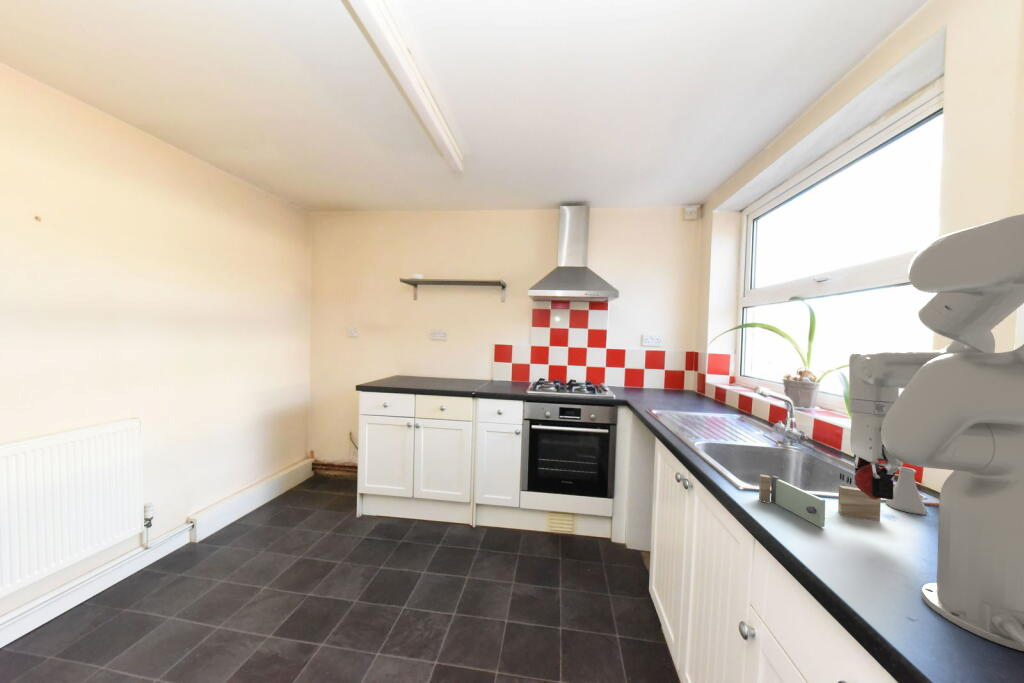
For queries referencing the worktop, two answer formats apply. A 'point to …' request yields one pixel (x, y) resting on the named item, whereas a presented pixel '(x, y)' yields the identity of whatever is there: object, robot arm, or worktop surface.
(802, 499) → the door
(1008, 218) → the robot arm
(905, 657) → the worktop surface
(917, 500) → the flask
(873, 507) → the door frame
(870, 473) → the onion
